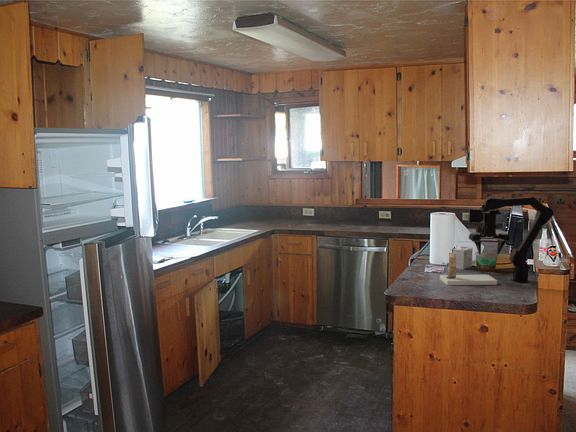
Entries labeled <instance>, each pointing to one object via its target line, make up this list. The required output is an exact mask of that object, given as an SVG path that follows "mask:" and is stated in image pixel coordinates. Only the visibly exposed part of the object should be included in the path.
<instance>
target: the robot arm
mask: <svg viewBox="0 0 576 432" xmlns="http://www.w3.org/2000/svg"><path fill="white" fill-rule="evenodd" d="M518 206H530V207H532V209H534V210H535V211H536V212H535V216H534V221H533V223H532V225H531V226H530V228H529V229H528V232H526V235H525V237H524V238H523V239H522V242H521V244H520V245H519V246H518V247H517V248H515V247H513V249H512V250H511V253H510V254H509V262H510V263H511V265H513V272H512V278H511V279H510V281H514V282H516V283H520V284H521V283H522V284H525V283H530V282H531V280H530V279H529V270H530V268H531V267H530V265H528V264H527V263H526V261H527V259H528V258H527V257H528V254H529V250H530V248H531V247H532V245H533V244H534V242H535V240H536V238H537V237H538V235H539V233H540V232H541V230H542V228H543V227H544V226H545V225H546V224H547V223H548V222H549V221H550V220H551V219H552V218H553V216H554V213H555V212H554V209H553V208H551V207H550V206H547V205H544V204H543V203H542V202H541V201H539V200H538V199H537V198H536V197H535V196H525V197H524V196H523V197H522V196H521V197H510V198H509V197H508V198H504V197H502V198H501V197H493V196H489V197H486V198H485V199H484V200H483V204H482V205H481V207H479V209H476V208H475V209H474V208H469V209H468V214H467V222H468V224H469V223H471V224H473V223H474V224H477V223H478V224H481V222H483V224H482V227H481V225H479V226H475V233H469V235H468V240H470V241H472V242H473V243H474V244H475V247H476V251H477V252H478V253H479V254H481V253H482V241H481V240H497V247H496V248H497V251H496V253H497V254H499V255H500V253H501V252H502V249H503V247H504V246H505V245H506V243H508V242H509V241H511V240H512V239H511V238H512V237H511V235H510V234H509V233H505V232H504V233H502V232H501V233H500V232H499V233H498V234H497V228H498V225H497V217H498V216H497V215H502V212H501V211H500V210H499V209H502V208H505V207H518Z"/></svg>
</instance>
